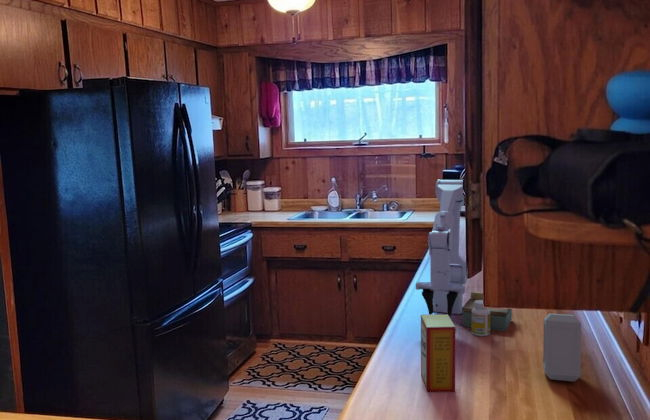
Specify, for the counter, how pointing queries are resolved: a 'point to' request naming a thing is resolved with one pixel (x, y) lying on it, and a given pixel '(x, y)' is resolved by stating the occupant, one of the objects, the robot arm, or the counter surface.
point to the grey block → (562, 347)
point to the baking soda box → (438, 353)
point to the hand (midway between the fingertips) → (440, 314)
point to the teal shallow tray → (495, 320)
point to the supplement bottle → (480, 319)
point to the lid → (479, 296)
